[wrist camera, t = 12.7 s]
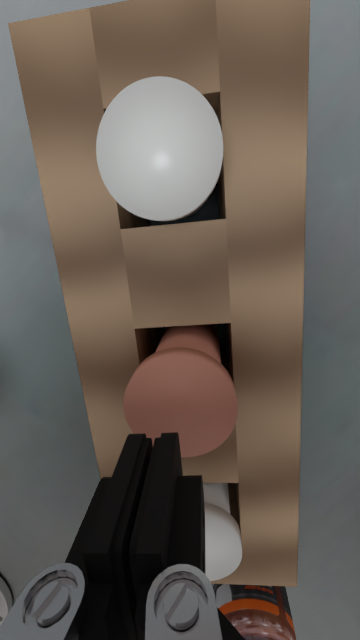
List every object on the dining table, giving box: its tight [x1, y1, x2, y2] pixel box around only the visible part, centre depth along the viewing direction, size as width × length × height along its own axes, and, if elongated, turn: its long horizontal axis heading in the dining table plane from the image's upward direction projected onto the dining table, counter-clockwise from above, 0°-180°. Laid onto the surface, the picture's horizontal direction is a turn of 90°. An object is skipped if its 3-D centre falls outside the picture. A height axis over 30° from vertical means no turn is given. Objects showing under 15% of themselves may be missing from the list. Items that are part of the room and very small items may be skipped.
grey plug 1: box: [96, 76, 223, 221], centre depth 16 cm, size 5×5×10 cm
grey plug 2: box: [203, 483, 242, 581], centre depth 21 cm, size 5×5×10 cm
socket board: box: [8, 0, 310, 587], centre depth 20 cm, size 32×12×8 cm, turn 5°
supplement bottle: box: [212, 584, 296, 640], centre depth 24 cm, size 6×6×11 cm
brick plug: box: [123, 324, 238, 457], centre depth 17 cm, size 5×5×10 cm
